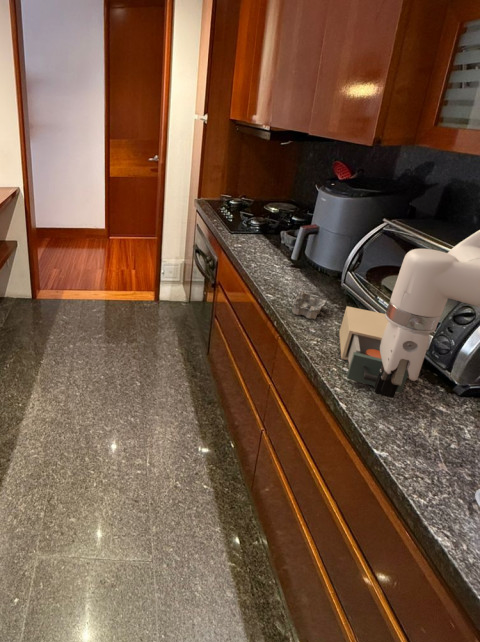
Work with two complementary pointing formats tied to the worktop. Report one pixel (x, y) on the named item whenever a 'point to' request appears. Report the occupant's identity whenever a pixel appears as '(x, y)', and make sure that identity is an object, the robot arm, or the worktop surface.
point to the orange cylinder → (373, 353)
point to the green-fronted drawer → (365, 361)
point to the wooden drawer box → (360, 326)
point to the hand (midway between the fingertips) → (383, 393)
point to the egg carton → (307, 305)
